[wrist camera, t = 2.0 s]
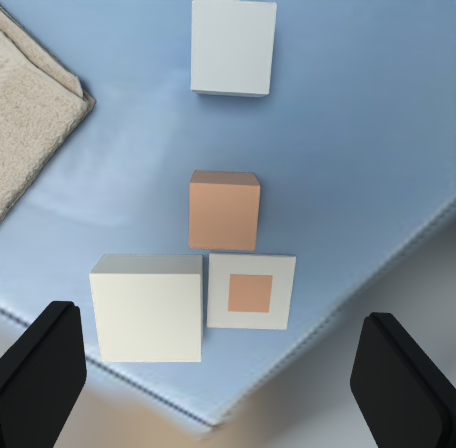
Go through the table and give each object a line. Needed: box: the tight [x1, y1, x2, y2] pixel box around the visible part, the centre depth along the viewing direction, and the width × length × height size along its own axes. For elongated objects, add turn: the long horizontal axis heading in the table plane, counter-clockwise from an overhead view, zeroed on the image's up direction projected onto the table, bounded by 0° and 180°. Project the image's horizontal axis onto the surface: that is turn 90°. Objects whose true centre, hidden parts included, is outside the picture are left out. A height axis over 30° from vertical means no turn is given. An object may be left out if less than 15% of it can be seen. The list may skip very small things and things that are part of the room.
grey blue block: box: [191, 0, 277, 97], centre depth 22 cm, size 5×5×5 cm
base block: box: [89, 254, 203, 362], centre depth 29 cm, size 9×9×4 cm
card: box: [207, 252, 296, 330], centre depth 31 cm, size 8×8×1 cm
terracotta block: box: [189, 170, 261, 251], centre depth 26 cm, size 5×5×5 cm
